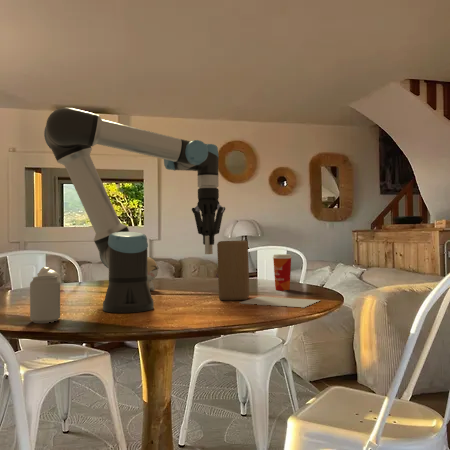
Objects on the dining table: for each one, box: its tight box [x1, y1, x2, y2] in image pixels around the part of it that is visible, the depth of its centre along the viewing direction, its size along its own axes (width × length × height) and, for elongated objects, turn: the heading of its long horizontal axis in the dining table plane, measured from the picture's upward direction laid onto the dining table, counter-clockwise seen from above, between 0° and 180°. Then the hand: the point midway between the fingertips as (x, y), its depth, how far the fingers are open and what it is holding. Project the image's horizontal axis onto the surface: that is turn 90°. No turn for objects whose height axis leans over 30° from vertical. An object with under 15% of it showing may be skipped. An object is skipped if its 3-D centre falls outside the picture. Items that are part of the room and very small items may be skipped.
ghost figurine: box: [36, 266, 62, 284], centre depth 190 cm, size 9×10×10 cm
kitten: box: [147, 256, 160, 292], centre depth 189 cm, size 15×10×15 cm
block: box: [216, 239, 251, 301], centre depth 164 cm, size 10×10×20 cm
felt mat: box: [239, 295, 321, 309], centre depth 155 cm, size 16×22×1 cm
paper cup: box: [272, 253, 293, 292], centre depth 188 cm, size 8×8×14 cm
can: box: [29, 276, 61, 324], centre depth 126 cm, size 8×8×12 cm
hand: (208, 254), depth 169 cm, fingers closed
